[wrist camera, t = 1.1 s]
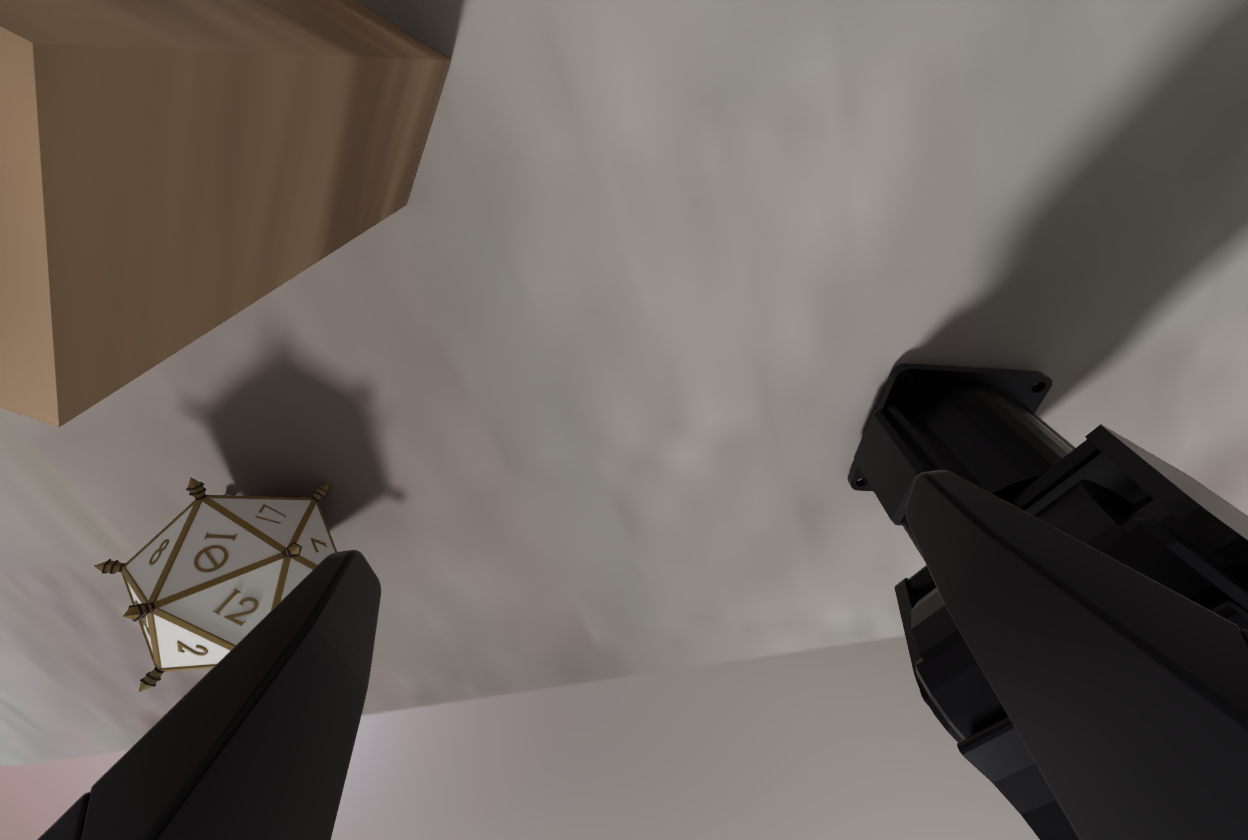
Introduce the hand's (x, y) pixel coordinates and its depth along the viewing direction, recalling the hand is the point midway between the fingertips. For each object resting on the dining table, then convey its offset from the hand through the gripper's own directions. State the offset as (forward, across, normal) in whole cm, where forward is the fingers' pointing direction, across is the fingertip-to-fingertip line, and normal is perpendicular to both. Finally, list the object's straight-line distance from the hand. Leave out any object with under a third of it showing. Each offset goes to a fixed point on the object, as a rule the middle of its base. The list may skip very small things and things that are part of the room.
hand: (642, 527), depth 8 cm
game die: (+14, +17, +11) cm, 24 cm away
